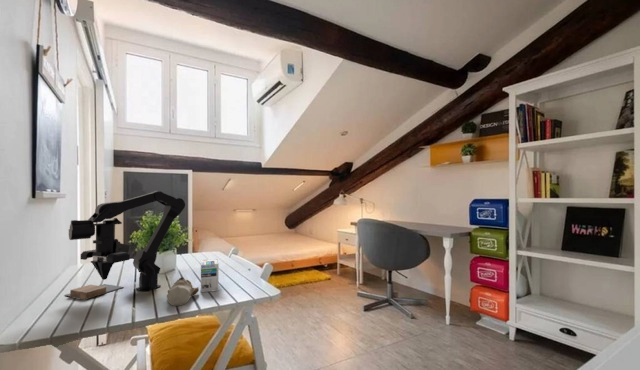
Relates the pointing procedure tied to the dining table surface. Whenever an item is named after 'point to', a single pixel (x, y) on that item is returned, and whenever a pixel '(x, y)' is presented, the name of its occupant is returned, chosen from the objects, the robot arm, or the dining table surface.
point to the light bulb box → (209, 275)
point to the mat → (108, 289)
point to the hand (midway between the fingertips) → (104, 279)
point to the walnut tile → (88, 291)
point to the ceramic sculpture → (181, 292)
